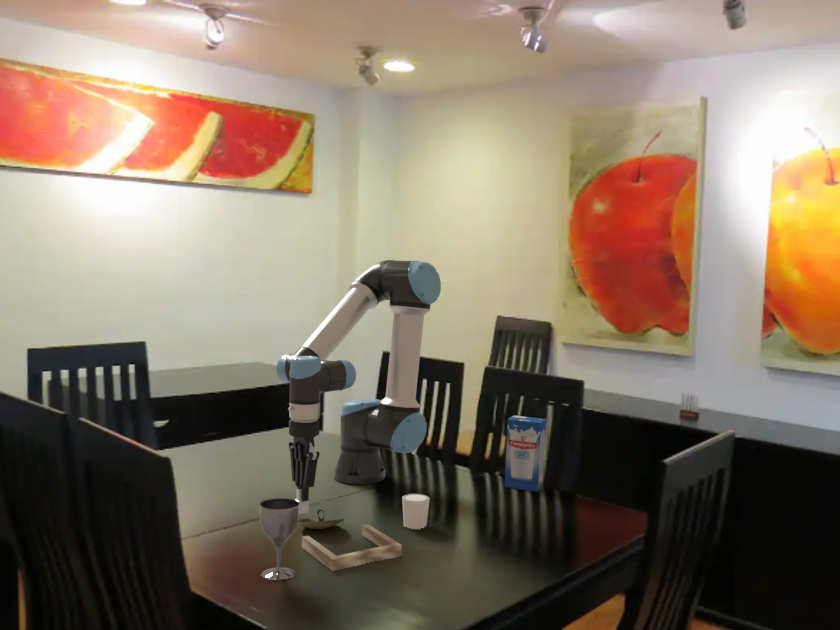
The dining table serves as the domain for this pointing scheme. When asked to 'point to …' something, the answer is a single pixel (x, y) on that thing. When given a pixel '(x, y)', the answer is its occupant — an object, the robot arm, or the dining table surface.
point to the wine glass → (279, 530)
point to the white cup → (415, 510)
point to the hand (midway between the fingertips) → (302, 512)
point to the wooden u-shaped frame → (333, 562)
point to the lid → (321, 522)
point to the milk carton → (525, 453)
